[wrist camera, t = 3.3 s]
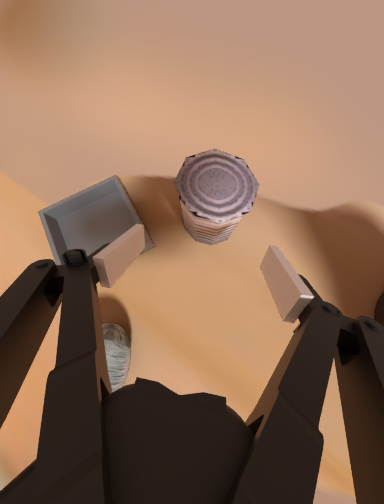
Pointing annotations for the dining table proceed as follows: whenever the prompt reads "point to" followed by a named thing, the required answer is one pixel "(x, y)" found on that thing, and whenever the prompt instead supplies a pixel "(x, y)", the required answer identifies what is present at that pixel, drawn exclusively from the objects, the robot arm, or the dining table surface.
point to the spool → (116, 354)
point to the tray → (91, 219)
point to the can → (214, 194)
